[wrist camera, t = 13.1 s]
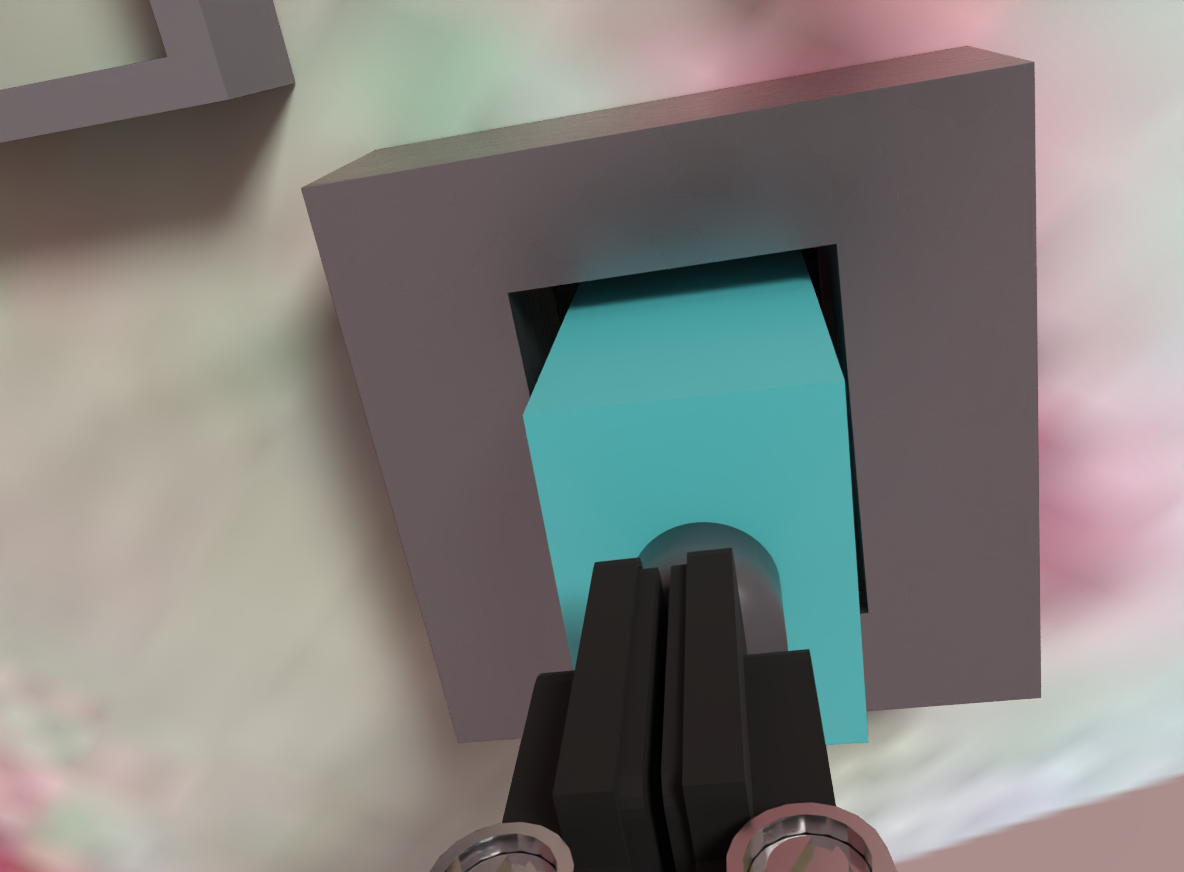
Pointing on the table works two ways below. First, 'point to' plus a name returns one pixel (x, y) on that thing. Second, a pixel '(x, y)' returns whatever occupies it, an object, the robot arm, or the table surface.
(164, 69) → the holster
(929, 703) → the port
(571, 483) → the plug
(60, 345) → the table surface
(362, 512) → the table surface
